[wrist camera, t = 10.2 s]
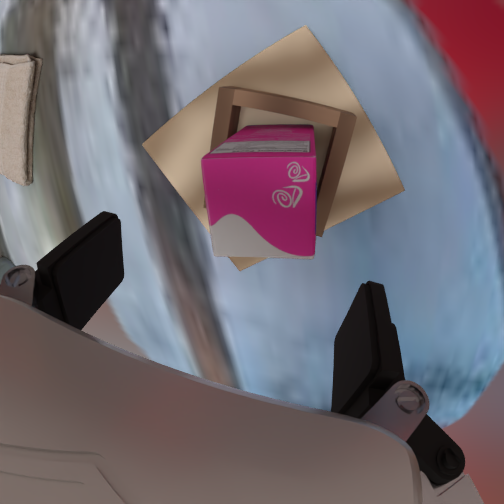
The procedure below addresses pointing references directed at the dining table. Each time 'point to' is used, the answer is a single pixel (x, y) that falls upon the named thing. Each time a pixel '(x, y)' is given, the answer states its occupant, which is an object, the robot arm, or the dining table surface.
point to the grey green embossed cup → (5, 266)
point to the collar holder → (283, 112)
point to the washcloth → (18, 115)
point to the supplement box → (263, 192)
